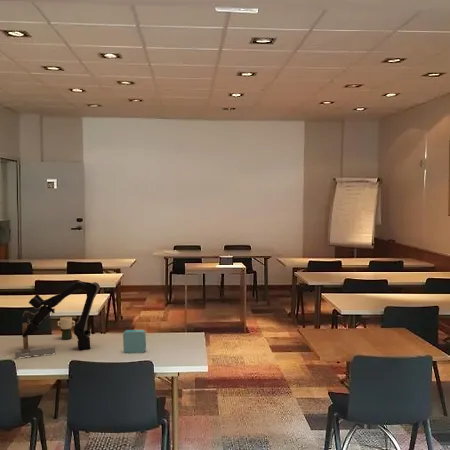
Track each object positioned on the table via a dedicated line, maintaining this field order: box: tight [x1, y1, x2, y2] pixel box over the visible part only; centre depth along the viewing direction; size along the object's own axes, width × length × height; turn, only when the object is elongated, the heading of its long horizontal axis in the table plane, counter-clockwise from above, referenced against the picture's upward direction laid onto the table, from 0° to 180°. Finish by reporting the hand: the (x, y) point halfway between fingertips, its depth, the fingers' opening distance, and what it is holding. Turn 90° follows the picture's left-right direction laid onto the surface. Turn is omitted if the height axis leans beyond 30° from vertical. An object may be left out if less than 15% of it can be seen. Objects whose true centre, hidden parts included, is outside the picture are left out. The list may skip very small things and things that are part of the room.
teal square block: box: [122, 329, 147, 354], centre depth 306 cm, size 12×4×12 cm, turn 89°
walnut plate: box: [21, 322, 29, 351], centre depth 312 cm, size 2×7×14 cm, turn 20°
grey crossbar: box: [14, 346, 56, 358], centre depth 302 cm, size 21×2×4 cm, turn 110°
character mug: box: [57, 316, 76, 340], centre depth 339 cm, size 11×7×13 cm, turn 87°
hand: (22, 335), depth 311 cm, fingers closed on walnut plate, 7 cm apart
